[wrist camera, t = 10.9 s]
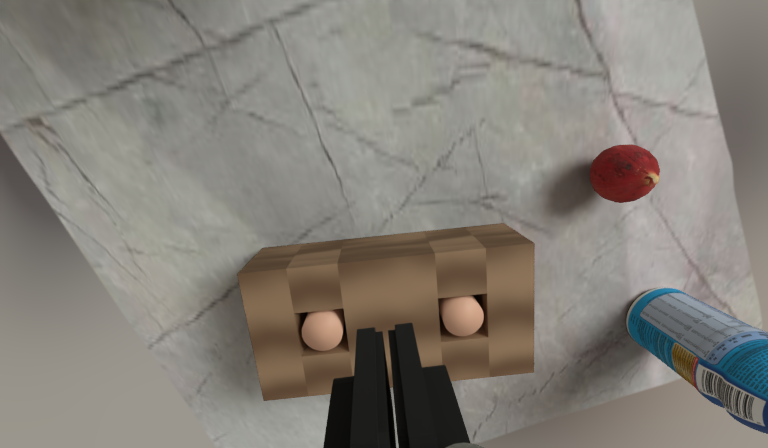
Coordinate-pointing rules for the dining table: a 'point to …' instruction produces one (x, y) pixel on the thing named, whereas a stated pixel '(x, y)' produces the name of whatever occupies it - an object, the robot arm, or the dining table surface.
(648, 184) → the onion
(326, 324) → the peg
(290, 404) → the dining table surface
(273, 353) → the peg block
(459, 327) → the peg
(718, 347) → the beverage bottle
